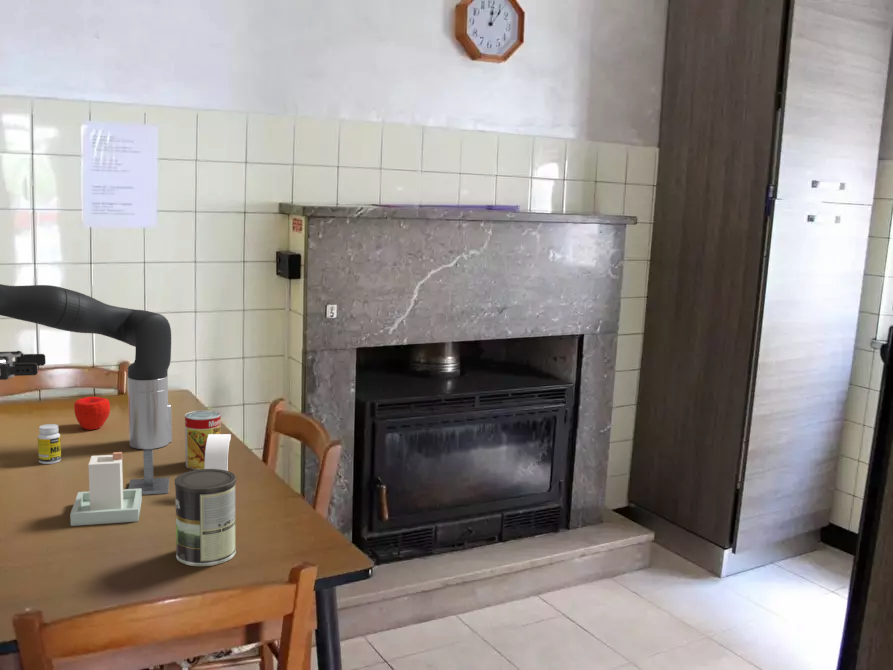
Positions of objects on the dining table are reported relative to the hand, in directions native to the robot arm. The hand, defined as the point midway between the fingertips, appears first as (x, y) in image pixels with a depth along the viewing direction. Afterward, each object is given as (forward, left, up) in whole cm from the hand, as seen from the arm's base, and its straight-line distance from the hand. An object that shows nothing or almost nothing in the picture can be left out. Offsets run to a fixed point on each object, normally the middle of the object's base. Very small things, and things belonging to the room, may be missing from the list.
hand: (41, 364), depth 162 cm
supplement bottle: (-22, -28, -30) cm, 47 cm away
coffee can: (-4, +38, -30) cm, 48 cm away
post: (-22, +4, -30) cm, 37 cm away
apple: (-46, -43, -30) cm, 70 cm away
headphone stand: (-28, +18, -30) cm, 45 cm away
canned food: (-40, +2, -30) cm, 50 cm away
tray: (-8, +8, -30) cm, 32 cm away
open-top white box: (-8, +8, -29) cm, 31 cm away
